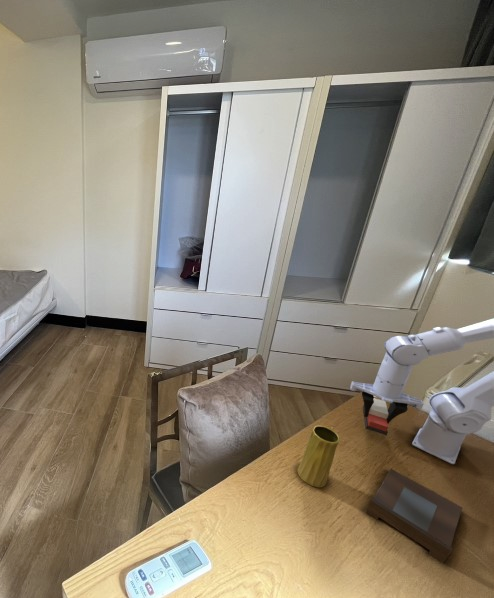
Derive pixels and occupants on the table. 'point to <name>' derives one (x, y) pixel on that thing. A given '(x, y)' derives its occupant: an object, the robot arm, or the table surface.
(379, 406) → the two-tone white red block
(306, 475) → the vase
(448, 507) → the dark brown slab
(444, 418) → the robot arm
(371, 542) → the table surface
